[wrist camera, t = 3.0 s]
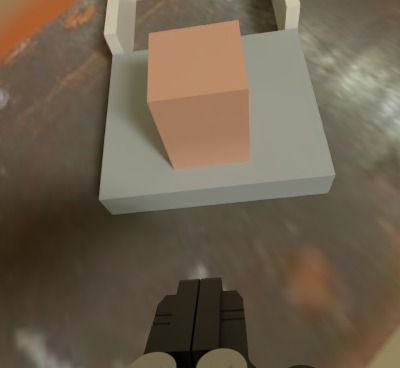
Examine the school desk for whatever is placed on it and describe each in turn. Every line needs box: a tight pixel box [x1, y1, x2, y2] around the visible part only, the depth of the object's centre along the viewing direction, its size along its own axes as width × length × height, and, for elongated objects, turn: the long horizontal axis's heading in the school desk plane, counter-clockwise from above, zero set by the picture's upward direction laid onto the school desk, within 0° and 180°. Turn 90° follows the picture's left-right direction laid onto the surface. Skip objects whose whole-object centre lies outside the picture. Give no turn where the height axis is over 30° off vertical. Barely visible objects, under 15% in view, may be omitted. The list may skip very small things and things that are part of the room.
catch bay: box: [104, 0, 300, 55], centre depth 38 cm, size 18×13×5 cm
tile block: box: [147, 20, 250, 169], centre depth 26 cm, size 6×6×8 cm
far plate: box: [99, 28, 335, 215], centre depth 32 cm, size 18×16×3 cm
